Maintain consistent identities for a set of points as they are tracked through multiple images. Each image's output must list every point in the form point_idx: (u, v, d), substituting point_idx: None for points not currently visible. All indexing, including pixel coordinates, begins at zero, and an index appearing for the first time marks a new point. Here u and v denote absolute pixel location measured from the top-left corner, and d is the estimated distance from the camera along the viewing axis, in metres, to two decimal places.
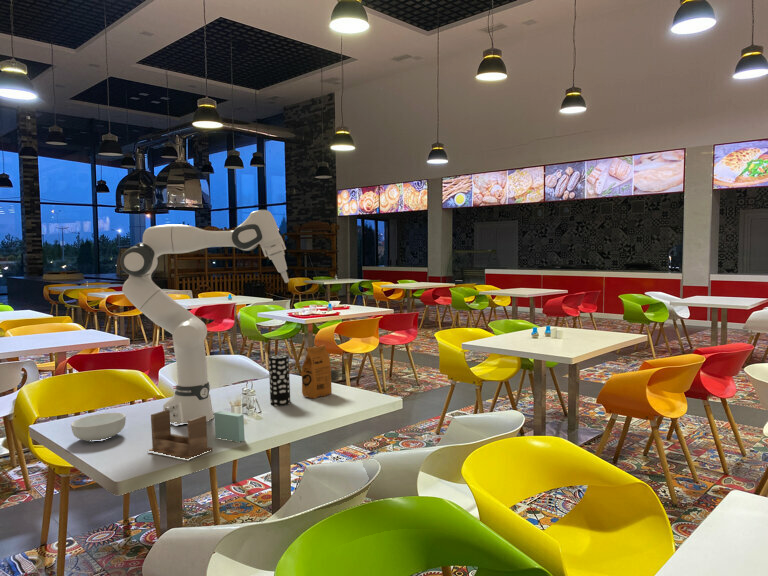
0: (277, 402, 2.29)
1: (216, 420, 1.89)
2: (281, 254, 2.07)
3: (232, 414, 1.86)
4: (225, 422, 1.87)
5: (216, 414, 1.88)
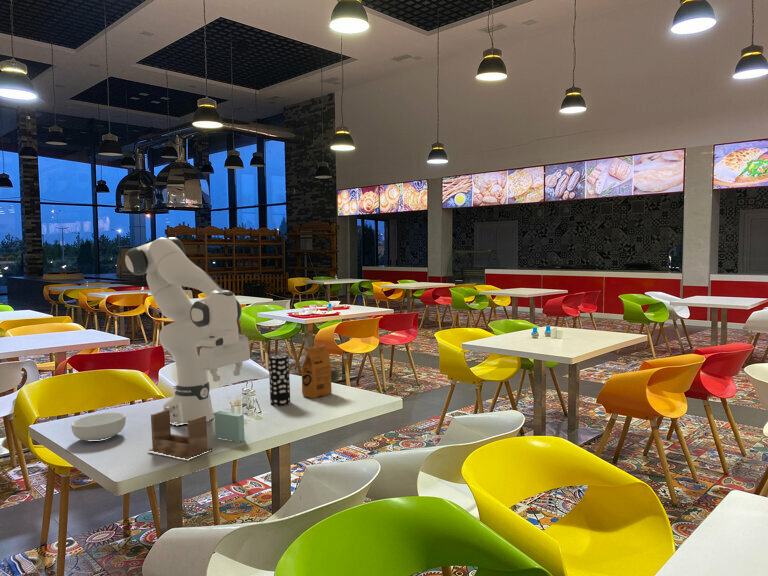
0: (277, 402, 2.29)
1: (216, 420, 1.89)
2: (208, 351, 1.77)
3: (232, 414, 1.86)
4: (225, 422, 1.87)
5: (216, 414, 1.88)
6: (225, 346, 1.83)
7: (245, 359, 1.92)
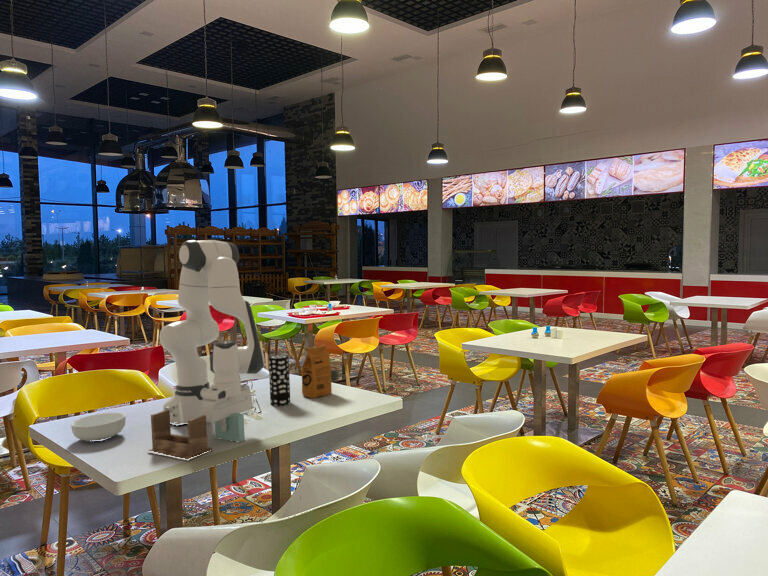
0: (277, 402, 2.29)
1: None
2: (211, 404, 1.78)
3: (232, 414, 1.86)
4: (225, 422, 1.87)
5: None
6: (228, 398, 1.84)
7: (247, 408, 1.93)
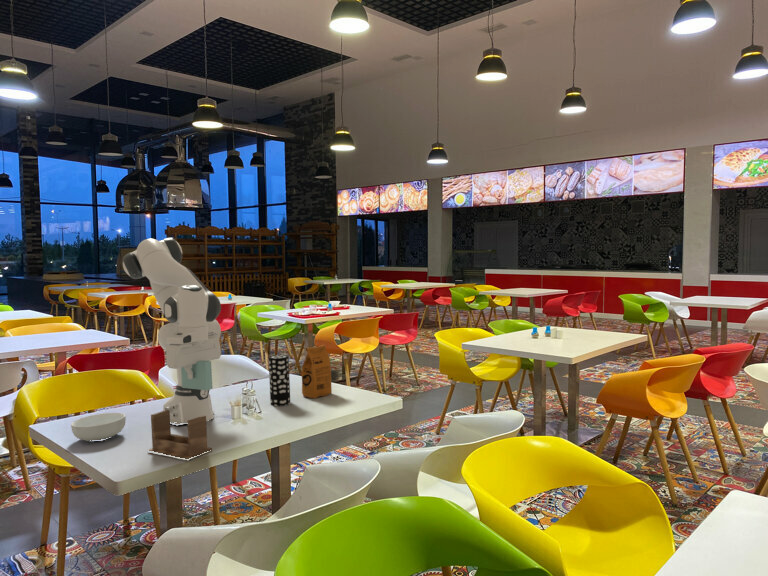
0: (277, 402, 2.29)
1: (183, 368, 1.80)
2: (175, 349, 1.70)
3: (199, 361, 1.78)
4: (192, 369, 1.78)
5: None
6: (194, 344, 1.76)
7: (215, 357, 1.85)
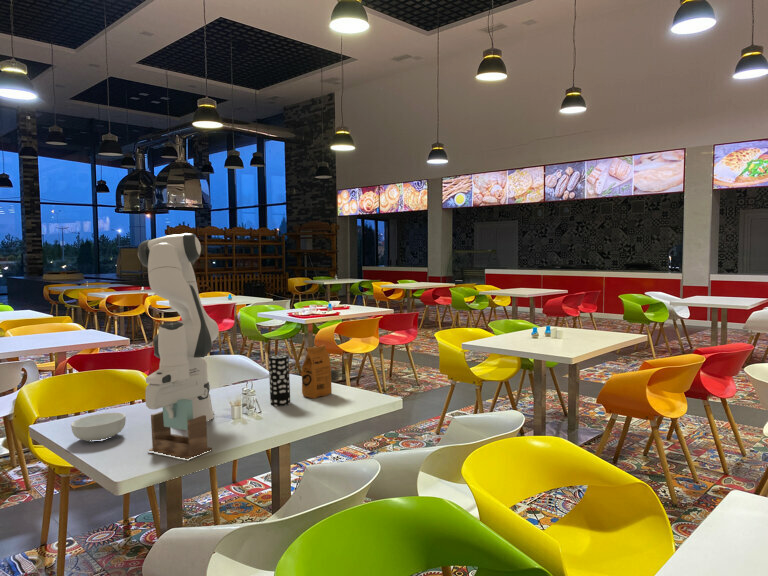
0: (277, 402, 2.29)
1: (164, 407, 1.77)
2: (154, 389, 1.66)
3: (180, 400, 1.74)
4: (173, 408, 1.75)
5: None
6: (174, 382, 1.72)
7: (198, 394, 1.81)
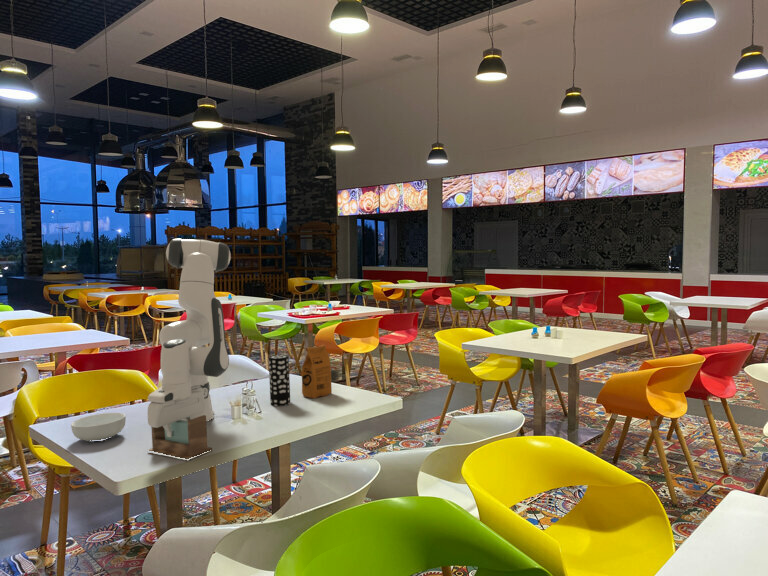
0: (277, 402, 2.29)
1: None
2: (156, 408, 1.67)
3: (182, 422, 1.75)
4: (175, 430, 1.75)
5: None
6: (176, 400, 1.73)
7: (200, 411, 1.82)
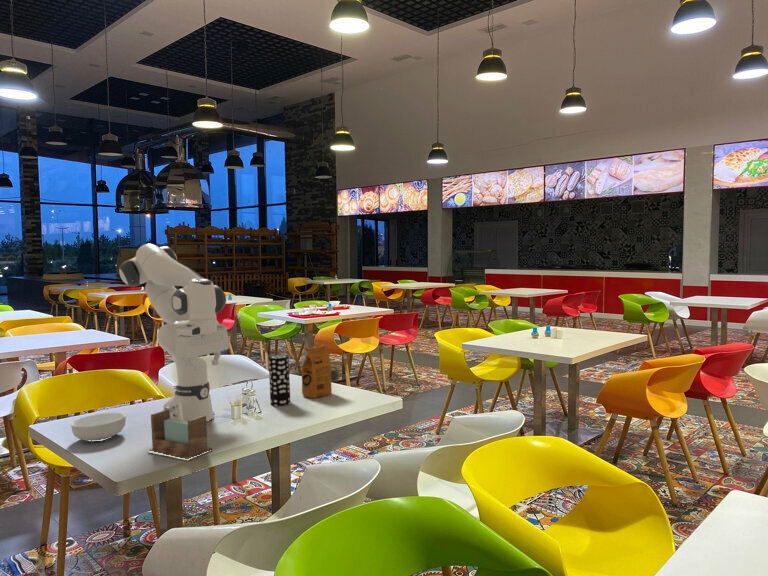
0: (277, 402, 2.29)
1: (166, 428, 1.77)
2: (184, 340, 1.76)
3: (182, 422, 1.75)
4: (175, 430, 1.75)
5: (166, 422, 1.77)
6: (202, 335, 1.82)
7: (224, 349, 1.91)
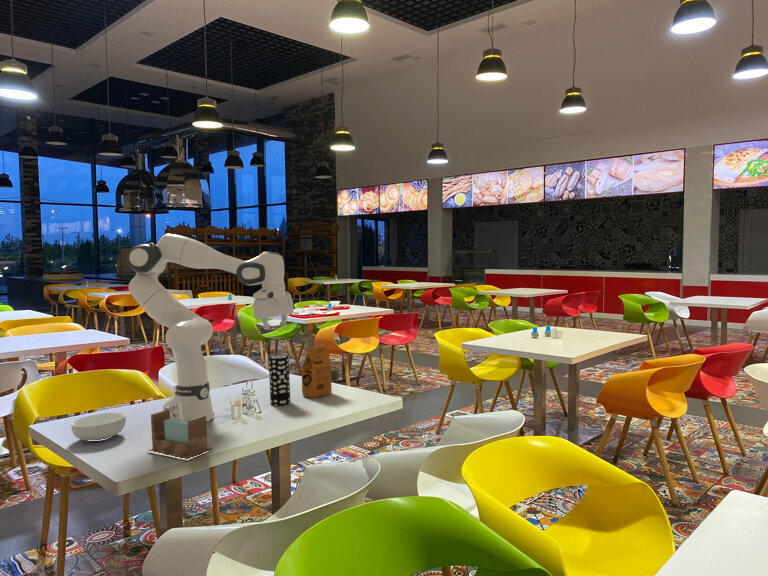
0: (277, 402, 2.29)
1: (166, 428, 1.77)
2: (261, 302, 2.07)
3: (182, 422, 1.75)
4: (175, 430, 1.75)
5: (166, 422, 1.77)
6: (274, 299, 2.13)
7: (290, 312, 2.22)
